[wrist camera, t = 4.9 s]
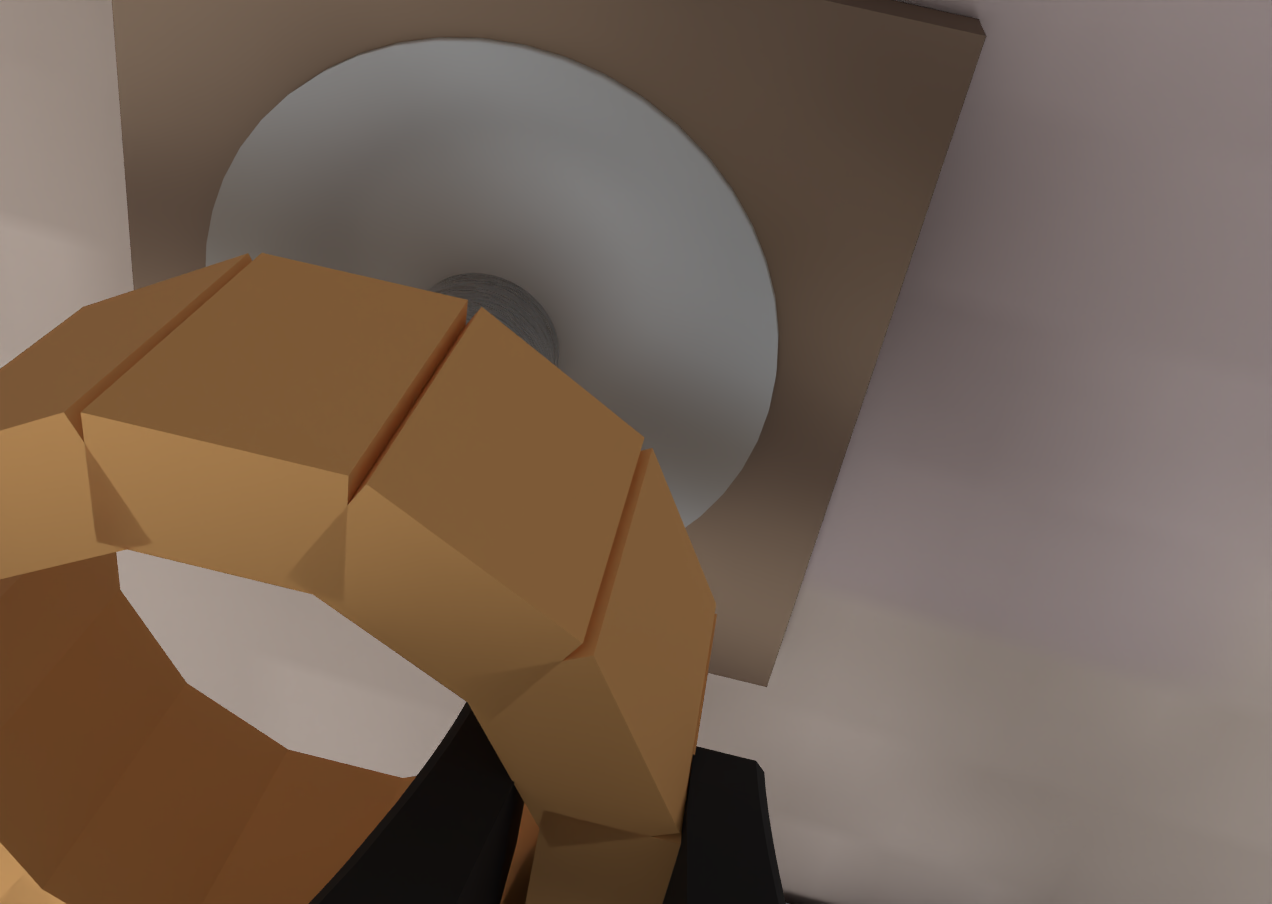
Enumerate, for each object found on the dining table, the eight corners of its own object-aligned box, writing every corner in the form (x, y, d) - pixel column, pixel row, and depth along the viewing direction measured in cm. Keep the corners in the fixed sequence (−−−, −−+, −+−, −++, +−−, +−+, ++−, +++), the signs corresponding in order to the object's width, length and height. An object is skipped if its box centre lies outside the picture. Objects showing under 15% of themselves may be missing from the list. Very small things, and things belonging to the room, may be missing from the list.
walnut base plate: (769, 650, 22) (765, 698, 21) (178, 508, 23) (144, 547, 22) (978, 19, 16) (988, 41, 15) (138, -167, 16) (87, -158, 15)
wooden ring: (638, 898, 15) (594, 1135, 12) (54, 752, 15) (-103, 953, 13) (784, 372, 10) (760, 572, 8) (-41, 183, 11) (-311, 319, 8)
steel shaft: (552, 414, 19) (469, 609, 15) (412, 381, 19) (290, 566, 15) (573, 285, 18) (488, 458, 13) (422, 249, 18) (291, 411, 14)
